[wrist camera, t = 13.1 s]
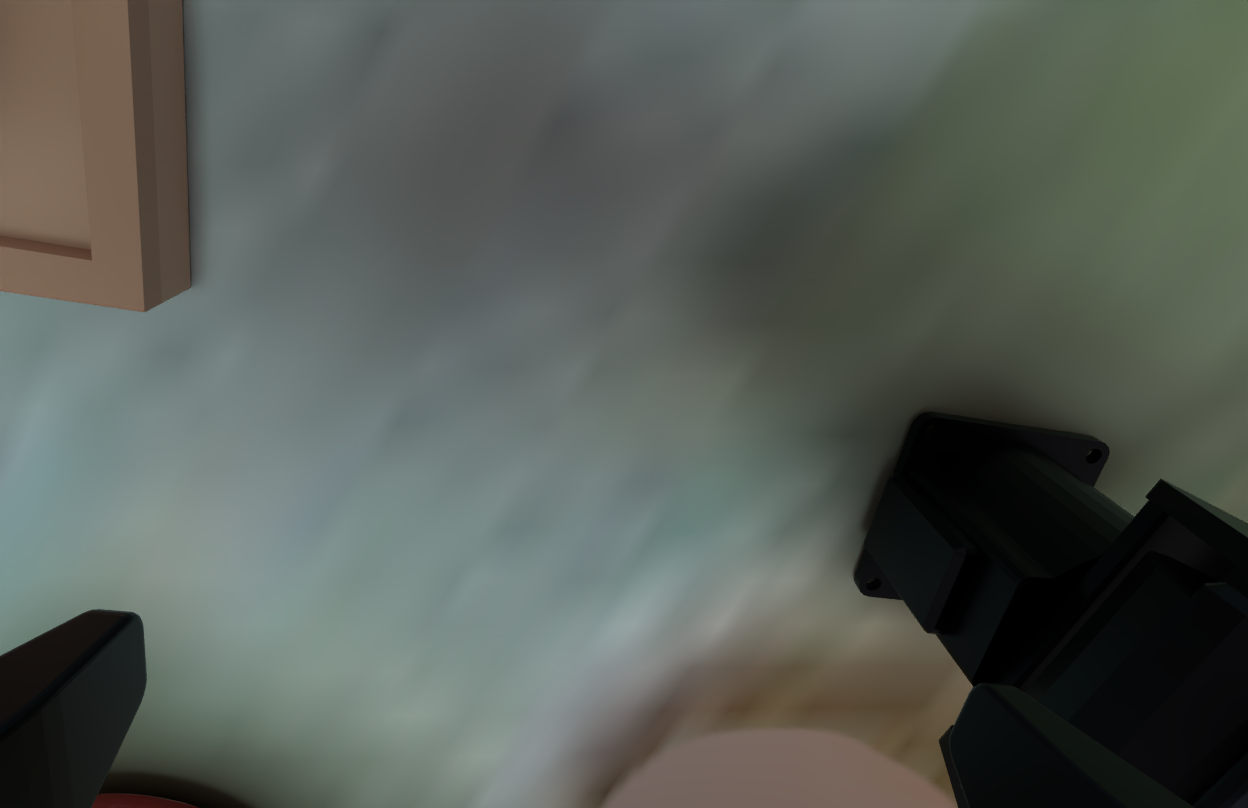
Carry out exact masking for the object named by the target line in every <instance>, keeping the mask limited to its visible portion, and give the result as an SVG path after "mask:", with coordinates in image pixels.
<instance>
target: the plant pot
mask: <svg viewBox="0 0 1248 808" xmlns="http://www.w3.org/2000/svg"><path fill="white" fill-rule="evenodd" d="M92 808H199V807H196V806H193V805H190V804H187V803H183V802H180V801H175V800H171V799H166V798H161V797H155V796H148V795H139V794H125V793H106V794H98V795H97V797H96V799H95V801H94V804H93V806H92Z"/></svg>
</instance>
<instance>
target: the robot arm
mask: <svg viewBox="0 0 1248 808" xmlns="http://www.w3.org/2000/svg"><path fill="white" fill-rule="evenodd" d="M931 425H935V426H934V429H933V431H932V432H931V433H929V434H926V435H925V431H926V429H927V428H928V427H930V426H931ZM1091 450H1092V452H1091V454H1090V455H1089V456H1087V457H1086V455H1087V454H1088V453H1089V451H1091ZM1108 456H1109V447H1108V446H1107V445H1106V444H1105V443H1103V442H1102V441H1100V440H1099V439H1097V438H1095V437H1092V436H1086V435H1080V434H1073V433H1067V432H1060V431H1054V430H1047V429H1040V428H1034V427H1027V426H1021V425H1014V424H1007V423H1001V422H994V421H988V420H981V419H975V418H968V417H961V416H955V415H948V414H942V413H935V412H926V413H923V414H921V415H919V416H918V417H917V418H916V419H915V420H914V421H913V423H912V425H911V427H910V430H909V433H908V435H907V438H906V441H905V443H904V446H903V449H902V451H901V454H900V457H899V459H898V462H897V465H896V467H895V470H894V473H893V475H892V476H891V477H890V478H889V479H888V481H887V484H886V487H885V489H884V492H883V495H882V497H881V500H880V503H879V505H878V508H877V511H876V513H875V516H874V519H873V521H872V524H871V527H870V529H869V532H868V535H867V537H866V540H865V550H864V552H863V555H862V557H861V560H860V563H859V565H858V568H857V571H856V573H855V578H854V581H855V584H856V586H857V587H858V589H859V590H860V592H861V593H862V594H863V595H866V596H869V597H878V598H888V599H898V600H903V601H904V602H905V604H906V605H907V607H908V608H909V609H910V611H911V612H912V614H913V615H914V617H915V618H916V619H917V621H918V622H919V624H920V625H921V626H922V628H923V629H924V631H926V632H927V633H931V634H936V636H937V637H938V638H939V640H940V641H941V643H942V644H943V645H944V647H945V648H946V649H947V651H948V652H949V654H950V655H951V656H952V658H953V659H954V661H955V662H956V663H957V665H958V666H959V667H960V669H961V670H962V672H963V673H964V674H965V676H966V677H967V679H968V680H969V681H970V683H971V684H972V685H973V688H972V690H971V691H970V693H969V695H968V697H967V699H966V701H965V703H964V706H963V708H962V710H961V712H960V714H959V716H958V718H957V720H956V722H955V724H954V725H952V726H950V728H949V729H948V730H947V731H946V732H945V733H944V735H943V736H942V737H941V738H940V739H939V744H940V747H941V751H942V754H943V757H944V761H945V764H946V767H947V771H948V774H949V778H950V781H951V784H952V788H953V791H954V795H955V798H956V801H957V805H958V808H1248V523H1246V522H1244V521H1242V520H1240V519H1238V518H1236V517H1234V516H1232V515H1230V514H1229V513H1227V512H1225V511H1223V510H1221V509H1219V508H1217V507H1215V506H1213V505H1211V504H1209V503H1207V502H1205V501H1203V500H1201V499H1200V498H1198V497H1196V496H1194V495H1192V494H1190V493H1188V492H1186V491H1184V490H1182V489H1180V488H1178V487H1176V486H1174V485H1172V484H1171V483H1169V482H1167V481H1165V480H1163V479H1160V480H1159V481H1158V483H1157V484H1156V485H1155V486H1154V487H1153V488H1152V490H1151V491H1150V492H1149V493H1148V494H1147V495H1146V498H1147V499H1148V500H1149V501H1148V502H1147V503H1146V504H1145V505H1144V506H1143V508H1142V509H1141V510H1140V511H1139V512H1138V514H1137V515H1136V516H1135V517H1134V516H1133V515H1131V514H1130V513H1128V512H1127V511H1126V510H1124V509H1123V508H1121V507H1120V506H1119V505H1117V504H1116V503H1115V502H1113V501H1112V500H1110V499H1109V498H1108V497H1106V496H1105V495H1103V494H1102V493H1101V492H1099V491H1098V490H1096V489H1095V488H1094V485H1095V483H1096V481H1097V479H1098V477H1099V475H1100V473H1101V471H1102V469H1103V467H1104V465H1105V463H1106V461H1107V459H1108ZM872 578H875V580H874V581H872V582H870V583H867V582H868V581H869V580H870V579H872ZM146 681H147V673H146V658H145V643H144V628H143V623H142V620H141V618H140V616H139V615H137V614H136V613H133V612H126V611H114V610H102V609H97V610H90V611H87V612H85V613H82V614H80V615H78V616H76V617H74V618H73V619H71V620H69V621H67V622H65V623H63V624H61V625H59V626H57V627H55V628H53V629H51V630H49V631H47V632H45V633H43V634H42V635H40V636H38V637H36V638H34V639H32V640H30V641H28V642H26V643H24V644H22V645H20V646H18V647H16V648H14V649H13V650H11V651H9V652H7V653H5V654H3V655H1V656H0V808H92V806H93V804H94V801H95V799H96V797H97V795H98V793H99V791H100V789H101V787H102V784H103V782H104V780H105V778H106V776H107V774H108V772H109V770H110V768H111V765H112V763H113V761H114V759H115V757H116V755H117V753H118V751H119V749H120V746H121V744H122V742H123V740H124V738H125V736H126V734H127V732H128V730H129V727H130V725H131V723H132V721H133V719H134V717H135V715H136V713H137V710H138V708H139V706H140V704H141V702H142V699H143V696H144V692H145V688H146Z"/></svg>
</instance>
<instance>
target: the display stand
mask: <svg viewBox="0 0 1248 808" xmlns="http://www.w3.org/2000/svg"><path fill="white" fill-rule="evenodd" d="M190 287H191V279H190V246H189V212H188V178H187V145H186V111H185V77H184V44H183V10H182V0H0V291H4V292H11V293H18V294H25V295H31V296H38V297H45V298H52V299H58V300H65V301H72V302H79V303H85V304H92V305H99V306H106V307H113V308H119V309H126V310H133V311H140V312H146V311H148V310H150V309H151V308H153V307H155V306H157V305H159V304H161V303H163V302H164V301H166V300H168V299H170V298H172V297H174V296H176V295H177V294H179V293H181V292H183V291H185V290H187V289H189V288H190Z"/></svg>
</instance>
